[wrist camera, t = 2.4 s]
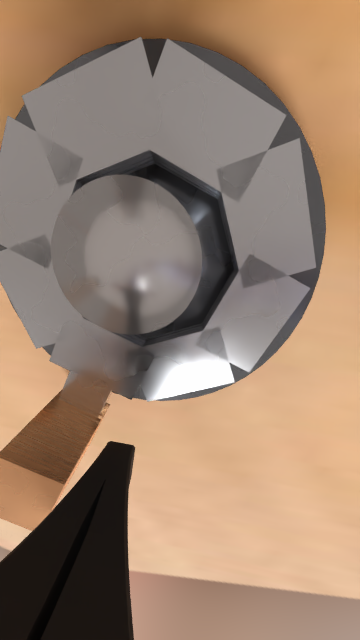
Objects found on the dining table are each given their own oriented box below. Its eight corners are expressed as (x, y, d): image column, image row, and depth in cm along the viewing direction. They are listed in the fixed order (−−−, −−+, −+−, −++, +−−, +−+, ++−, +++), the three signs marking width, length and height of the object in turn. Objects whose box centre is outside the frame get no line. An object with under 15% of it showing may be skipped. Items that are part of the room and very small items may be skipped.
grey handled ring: (63, 0, 6) (-126, -373, 3) (363, 191, 7) (546, 119, 4) (-31, 390, 11) (-149, 460, 7) (162, 476, 12) (148, 578, 8)
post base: (365, 193, 9) (591, 107, 4) (208, 414, 13) (218, 517, 8) (77, 11, 8) (-136, -447, 3) (-1, 312, 12) (-151, 354, 7)
